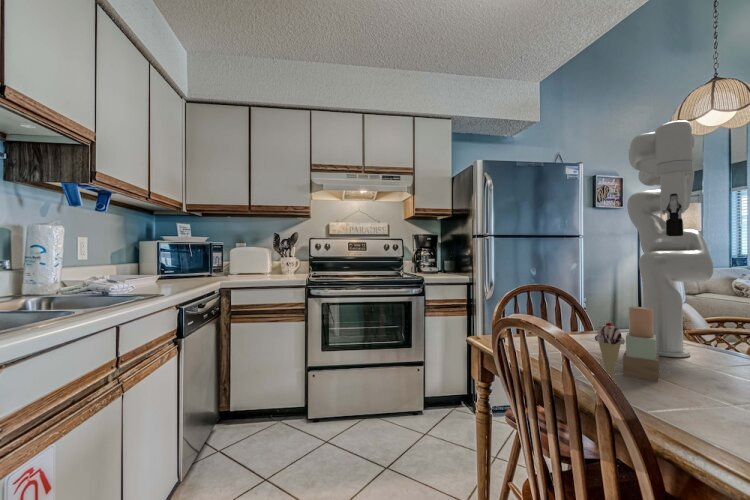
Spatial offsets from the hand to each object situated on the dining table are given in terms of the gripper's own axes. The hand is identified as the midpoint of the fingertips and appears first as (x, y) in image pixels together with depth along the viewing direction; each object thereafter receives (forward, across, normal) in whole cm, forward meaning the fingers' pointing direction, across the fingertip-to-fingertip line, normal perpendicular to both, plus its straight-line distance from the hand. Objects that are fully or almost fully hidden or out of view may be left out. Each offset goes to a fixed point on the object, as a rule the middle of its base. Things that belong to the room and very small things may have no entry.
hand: (675, 235), depth 96 cm
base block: (+35, +10, -7) cm, 37 cm away
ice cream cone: (+35, +26, -12) cm, 45 cm away
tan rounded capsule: (+25, +9, -7) cm, 28 cm away
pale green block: (+30, +10, -7) cm, 33 cm away
